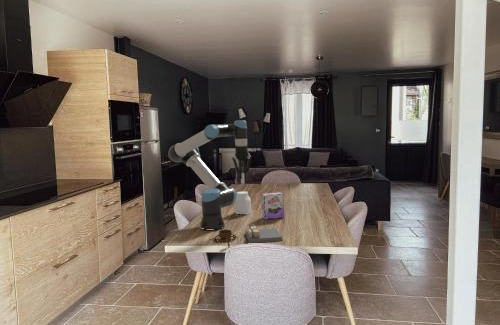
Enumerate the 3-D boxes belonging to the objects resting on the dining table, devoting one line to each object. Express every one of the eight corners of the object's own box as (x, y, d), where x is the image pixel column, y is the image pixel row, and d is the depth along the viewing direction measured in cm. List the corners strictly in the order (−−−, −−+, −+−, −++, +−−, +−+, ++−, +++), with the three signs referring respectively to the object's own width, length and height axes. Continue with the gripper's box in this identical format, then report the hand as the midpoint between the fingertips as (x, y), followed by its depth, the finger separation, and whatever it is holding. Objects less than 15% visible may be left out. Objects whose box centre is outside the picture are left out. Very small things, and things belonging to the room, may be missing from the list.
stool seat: (249, 242, 200) (248, 233, 200) (245, 233, 217) (244, 225, 216) (282, 240, 203) (281, 231, 202) (275, 231, 219) (275, 223, 219)
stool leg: (249, 229, 216) (248, 224, 216) (254, 229, 217) (254, 224, 217) (254, 237, 201) (253, 232, 201) (259, 237, 202) (259, 231, 201)
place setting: (244, 237, 212) (243, 227, 211) (231, 249, 193) (231, 238, 192) (215, 235, 217) (215, 225, 217) (200, 246, 198) (200, 236, 198)
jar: (251, 211, 271) (250, 191, 269) (250, 214, 262) (249, 193, 260) (235, 211, 272) (235, 191, 270) (234, 215, 262) (233, 194, 261)
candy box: (264, 219, 247) (263, 195, 245) (261, 217, 253) (261, 193, 251) (284, 217, 250) (283, 193, 249) (281, 215, 256) (280, 191, 254)
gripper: (232, 146, 225) (234, 185, 228) (253, 145, 229) (254, 183, 231) (229, 145, 232) (231, 183, 235) (249, 144, 236) (250, 181, 239)
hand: (242, 183), depth 233 cm, fingers closed
